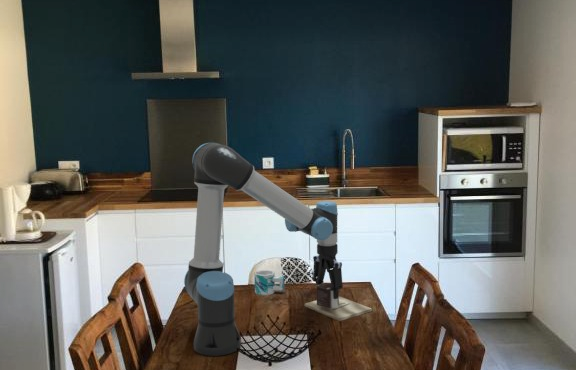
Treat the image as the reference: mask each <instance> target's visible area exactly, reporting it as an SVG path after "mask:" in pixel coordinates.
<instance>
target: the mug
mask: <svg viewBox="0 0 576 370" xmlns="http://www.w3.org/2000/svg"><path fill="white" fill-rule="evenodd" d="M277 283H279V284H277ZM284 290H285V276H275V271H273V270H270V269H261V270H256V271H255V272H254V293H255V295H258V296H269V295H273V294H275V292H276V291H281V292H283V291H284Z"/></svg>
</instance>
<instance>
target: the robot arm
mask: <svg viewBox="0 0 576 370" xmlns="http://www.w3.org/2000/svg"><path fill="white" fill-rule="evenodd" d="M192 167H193V169H194V180H193V182H194V185H196V186H197V188H198V189H197V191H198V192H197V203H196V205H197V207H196V218H195V220H196V221H195V231H194V233H195V234H194V235H195V236H194V246H193V248H194V250H193V258H192V259H191V260H189V261H188V268H187V269H188V270H187V272H186V273H185V275H184V279H183V280H184V281H183V284H184V289H185V291H186V293H187V295H188V296H189V297H190V298H191V299H193V300H192V301H194V302H195V304H196V305H197V319H198V320H197V323H198V325H197V328H196V332H195V336H194V339H193V351H195V353H198V354H199V355H202V356H208V357H209V356H210V357H219V356H220V357H221V356H226V355H230V354H232V353H234V352H236V351H238V350H237V349H236V348H239V349H241V347H240V346H242V344H241V343H242V339H241V335H240V333H239V330H238V328H237V327H238V326H237V325H236V321H235V318H236V314H235V285H234V279H233V276H231V275H230V274H228V273H227V272H225V271H224V263H223V262H222V260H221V259H220V255H221V254H220V251H221V241H222V226H223V225H222V224H223V210H224V197H225V196H224V195H225V189H226V188H228V187H230V188H231V189H233V190H235V191H236V192H238V191H242V192H243V193H245V194H247V195H248V196H249V197H252V199H255V201H257V202H259V203H261V204H262V205H263V206H265V207H267V208H268V209H270V210H271V211H273V212H274V213H276V214H277V215H278V216H280V217H282V218H283V219H284V224H285V229H287V231H288V232H294V233H296V232H302V233H304V234H305V235H308V236H310V237H311V238H314V239H315V240H316V243H317V245H316V253H317V255H314V256H313V258H312V259H313V272H312V273H313V274H312V282H315V283H316V287H317V286H319V285H321V284H324V283H325V282H324V279H325V276H326V272H327V273H328V276H329V280H330V284H331V286H332V289H331V307H332V308H333V307H336V306H338V295H339V294H338V293H339V290H342V289H343V287H344V284H343V276H342V275H343V273H342V266H343V263H342V262H341V261H340V262H339V261H337V257H336V256H337V254H338V215H339V214H338V212H339V211H338V205H337V202H335V201H331V200H320V201H317V203H316V207H315V208H310V207H309V206H307V205H306V204H304V203H303V202H301V200H298V199H297V198H296V197H294V196H293V195H291V194H289V193H288V192H287V191H285V190H284V189H282V188H281V187H279V186H278V185H276V184H275V183H273V182H272V181H271V180H269V179H268V178H266V177H265V176H264V175H262V174H261V173H260V172H257V171H256V170H255V166H254V165H253V164H252V163H250V162H249V161H247V160H246V159H245V158H244V157H242V156H241V155H240V154H239V153H238V152H236V151H235V150H234V149H233V148H232V147H229V146H227V145H225V144H220V143H218V142H207V143H203V144H201V145H199V147H197V148H196V150H195V151H194V153H193V155H192Z"/></svg>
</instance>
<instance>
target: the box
mask: <svg viewBox="0 0 576 370" xmlns="http://www.w3.org/2000/svg"><path fill="white" fill-rule="evenodd" d="M331 289H332V286H331V282H324V283H322V284H321V285H319V286H317V285H316V300H317V305H318V306H323V307H326V308H331ZM339 296H340V295H339V292H338V304H339Z"/></svg>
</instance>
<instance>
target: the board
mask: <svg viewBox="0 0 576 370" xmlns="http://www.w3.org/2000/svg"><path fill="white" fill-rule="evenodd" d="M304 307H306V308H308V309H310V310H312V311H315V312H317V313H320V314H321V315H323V316H326V317H329V318H331V319H333V320H335V321H338V322H341V321H345V320H347V319H351V318H355V317H358V316H361V315H364V314H367V313H371V312H372V311H373V309H372V308H371V307H369V306H365V305H364V304H361V303H358V302H355V301H353V300H350V299H348V298H345V297H342V296H340V295H339V304H338V306H336V307H333V308H332V307H331V308H326V307H323V306H318V305H317V299H316V300H313V301H310V302H306V303H304Z"/></svg>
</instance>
